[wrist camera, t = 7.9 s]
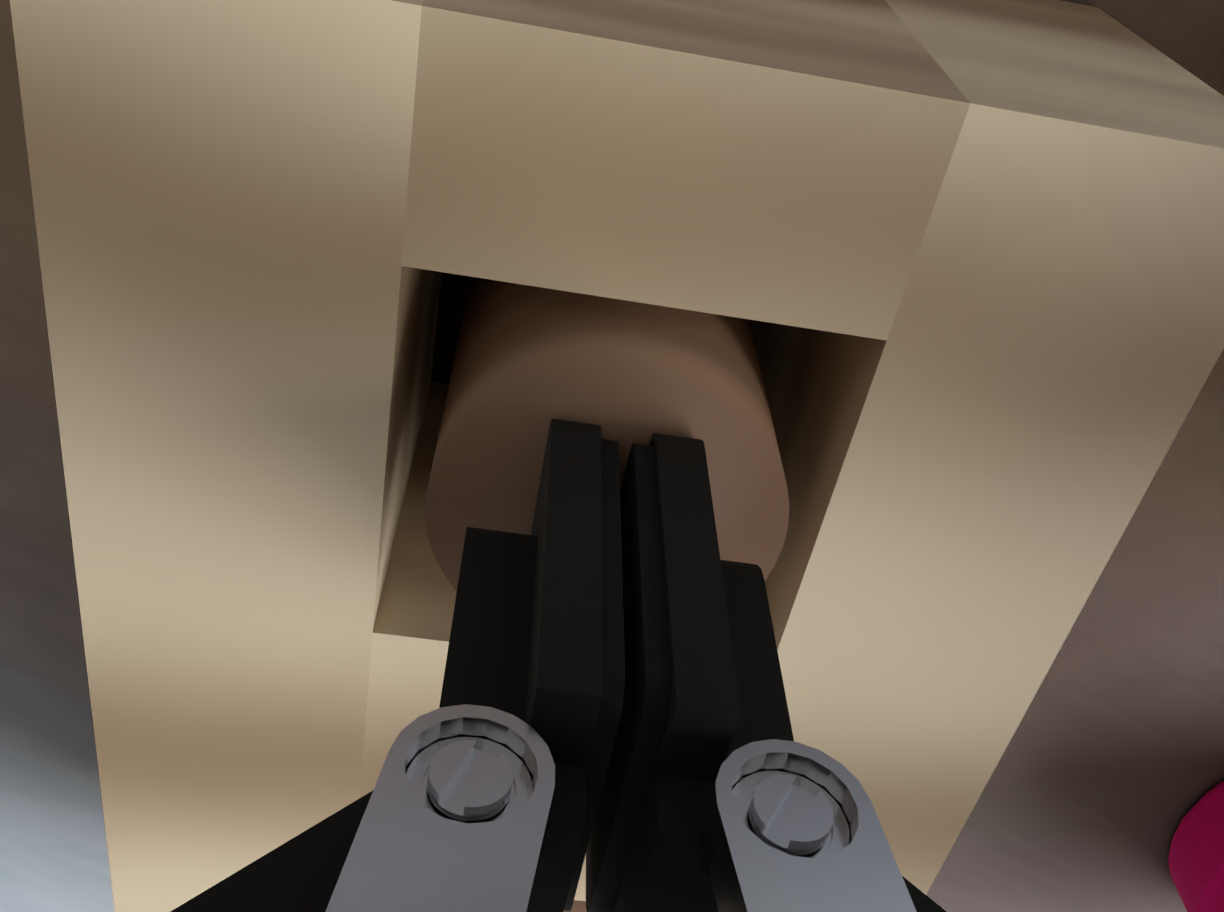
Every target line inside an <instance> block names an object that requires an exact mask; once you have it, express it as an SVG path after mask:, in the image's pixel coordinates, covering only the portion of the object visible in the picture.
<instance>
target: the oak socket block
mask: <svg viewBox="0 0 1224 912" xmlns="http://www.w3.org/2000/svg"><path fill="white" fill-rule="evenodd" d="M10 7H11V16H12V24H13V33H14V42H15V50H16V59H17V68H18V76H19V85H20V94H21V102H22V111H23V120H24V128H25V137H26V146H27V154H28V163H29V172H30V180H31V189H32V198H33V206H34V215H35V224H36V232H37V241H38V250H39V258H40V267H41V276H42V284H43V293H44V302H45V310H46V319H47V328H48V336H49V345H50V354H51V362H52V371H53V380H54V388H55V397H56V406H57V414H58V423H59V432H60V440H61V449H62V458H63V466H64V475H65V484H66V492H67V501H68V510H69V518H70V527H71V536H72V544H73V553H74V562H75V570H76V579H77V588H78V596H79V605H80V614H81V622H82V631H83V640H84V649H85V657H86V666H87V675H88V683H89V692H90V701H91V709H92V718H93V727H94V735H95V744H96V753H97V761H98V770H99V779H100V787H101V796H102V805H103V813H104V822H105V831H106V839H107V848H108V857H109V865H110V874H111V883H112V891H113V900H114V909H115V912H170V911H172V910H174V909H175V908H177V907H179V906H180V905H182V904H184V903H185V902H187V901H189V900H190V899H192V898H194V897H195V896H197V895H199V894H201V893H202V892H204V891H206V890H207V889H209V888H211V887H212V886H214V885H216V884H217V883H219V882H221V881H222V880H224V879H226V878H227V877H229V876H231V875H232V874H234V873H236V872H237V871H239V870H241V869H242V868H244V867H246V866H247V865H249V864H251V863H252V862H254V861H256V860H257V859H259V858H261V857H262V856H264V855H266V854H267V853H269V852H271V851H272V850H274V849H276V848H277V847H279V846H281V845H282V844H284V843H286V842H287V841H289V840H291V839H292V838H294V837H296V836H297V835H299V834H301V833H302V832H304V831H306V830H307V829H309V828H311V827H312V826H314V825H316V824H317V823H319V822H321V821H323V820H324V819H326V818H328V817H329V816H331V815H333V814H334V813H336V812H338V811H339V810H341V809H343V808H344V807H346V806H348V805H349V804H351V803H353V802H354V801H356V800H358V799H359V798H361V797H363V796H364V795H366V794H368V793H369V792H371V791H373V790H374V787H375V785H376V782H377V780H378V777H379V775H380V772H381V770H382V767H383V765H384V762H385V759H386V757H387V754H388V752H389V749H390V748H391V746H392V744H393V743H394V741H395V740H396V738H397V736H398V735H399V733H400V732H401V730H403V729H404V728H405V727H406V726H408V725H409V724H410V723H411V722H413V721H414V720H415V719H416V718H418V717H419V716H421V715H424V714H426V713H429V712H431V711H434V710H436V709H439V706H440V699H441V692H442V686H443V679H444V673H445V666H446V659H447V653H448V646H449V639H450V633H451V626H452V620H453V613H454V606H455V600H456V593H457V591H456V590H455V589H454V587H453V586H452V585H451V583H450V582H449V580H448V579H447V577H446V576H445V575H444V573H443V572H442V570H441V568H440V566H439V564H438V562H437V560H436V558H435V556H434V553H433V550H432V547H431V544H430V541H429V537H428V532H427V525H426V518H425V511H426V495H427V489H428V484H429V479H430V474H431V469H432V464H433V459H434V455H435V450H436V445H437V440H438V435H439V430H440V425H441V421H442V416H443V411H444V406H445V401H446V396H447V391H448V387H449V384H448V383H441V382H434V381H431V375H432V365H433V356H434V346H435V336H436V326H437V316H438V306H439V296H440V286H441V276H442V272H444V273H451V274H457V275H464V276H470V277H477V278H483V279H490V280H496V281H503V282H509V283H516V284H522V285H529V286H535V287H542V288H548V289H555V290H561V291H568V292H574V293H581V294H587V295H594V296H600V297H607V298H613V299H620V300H626V301H633V302H639V303H646V304H652V305H659V306H665V307H672V308H678V309H685V310H691V311H698V312H704V313H711V314H717V315H724V316H730V317H737V318H743V319H750V320H753V323H752V326H751V329H752V333H753V338H754V342H755V347H756V351H757V355H758V360H759V364H760V369H761V373H762V378H763V382H764V386H765V391H766V395H767V400H768V404H769V408H770V413H771V417H772V422H773V426H774V431H775V435H776V439H777V444H778V448H779V453H780V457H781V461H782V466H783V470H784V475H785V479H786V484H787V488H788V497H789V521H788V530H787V534H786V538H785V542H784V546H783V548H782V550H781V553H780V555H779V558H778V560H777V562H776V564H775V566H774V568H773V569H772V571H771V573H770V574H769V576H768V577H767V579H766V581H765V586H766V591H767V597H768V602H769V608H770V613H771V619H772V624H773V629H774V635H775V640H776V646H777V651H778V657H779V662H780V667H781V673H782V678H783V684H784V689H785V695H786V700H787V706H788V711H789V716H790V722H791V727H792V733H793V738H794V742H799V743H802V744H804V745H807V746H810V747H813V748H815V749H818V750H821V751H822V752H824V753H825V754H827V755H829V756H830V757H832V758H833V759H835V760H837V761H838V762H840V763H841V764H843V765H844V766H845V767H846V768H847V769H848V770H849V771H850V772H851V773H852V774H853V775H854V776H855V777H856V778H857V779H858V780H859V782H860V783H861V785H862V787H863V788H864V790H865V792H866V793H867V795H868V797H869V798H870V800H871V802H872V804H873V807H874V809H875V812H876V814H877V817H878V819H879V821H880V824H881V826H882V829H883V831H884V834H885V836H886V838H887V841H888V843H889V846H890V848H891V851H892V853H893V855H894V858H895V860H896V863H897V865H898V868H899V870H900V872H901V875H902V876H903V877H904V878H906V879H907V880H908V881H909V882H911V883H912V884H913V885H914V886H915V887H917V888H918V889H919V890H920V891H922V892H923V893H924V894H925V895H927V893H928V891H929V889H930V887H931V886H932V884H933V882H934V880H935V878H936V876H937V875H938V873H939V871H940V869H941V867H942V865H943V864H944V862H945V860H946V858H947V856H948V854H949V853H950V851H951V849H952V847H953V845H954V843H955V841H956V840H957V838H958V836H959V834H960V832H961V830H962V829H963V827H964V825H965V823H966V821H967V819H968V818H969V816H970V814H971V812H972V810H973V808H974V807H975V805H976V803H977V801H978V799H979V797H980V796H981V794H982V792H983V790H984V788H985V786H986V785H987V783H988V781H989V779H990V777H991V775H992V773H993V772H994V770H995V768H996V766H997V764H998V762H999V761H1000V759H1001V757H1002V755H1003V753H1004V751H1005V750H1006V748H1007V746H1008V744H1009V742H1010V740H1011V739H1012V737H1013V735H1014V733H1015V731H1016V729H1017V728H1018V726H1019V724H1020V722H1021V720H1022V718H1023V717H1024V715H1025V713H1026V711H1027V709H1028V707H1029V705H1030V704H1031V702H1032V700H1033V698H1034V696H1035V694H1036V693H1037V691H1038V689H1039V687H1040V685H1041V683H1042V682H1043V680H1044V678H1045V676H1046V674H1047V672H1048V671H1049V669H1050V667H1051V665H1052V663H1053V661H1054V660H1055V658H1056V656H1057V654H1058V652H1059V650H1060V649H1061V647H1062V645H1063V643H1064V641H1065V639H1066V637H1067V636H1068V634H1069V632H1070V630H1071V628H1072V626H1073V625H1074V623H1075V621H1076V619H1077V617H1078V615H1079V614H1080V612H1081V610H1082V608H1083V606H1084V604H1085V603H1086V601H1087V599H1088V597H1089V595H1090V593H1091V592H1092V590H1093V588H1094V586H1095V584H1096V582H1097V581H1098V579H1099V577H1100V575H1101V573H1102V571H1103V569H1104V568H1105V566H1106V564H1107V562H1108V560H1109V558H1110V557H1111V555H1112V553H1113V551H1114V549H1115V547H1116V546H1117V544H1118V542H1119V540H1120V538H1121V536H1122V535H1123V533H1124V531H1125V529H1126V527H1127V525H1128V524H1129V522H1130V520H1131V518H1132V516H1133V514H1134V513H1135V511H1136V509H1137V507H1138V505H1139V503H1140V501H1141V500H1142V498H1143V496H1144V494H1145V492H1146V490H1147V489H1148V487H1149V485H1150V483H1151V481H1152V479H1153V478H1154V476H1155V474H1156V472H1157V470H1158V468H1159V467H1160V465H1161V463H1162V461H1163V459H1164V457H1165V456H1166V454H1167V452H1168V450H1169V448H1170V446H1171V445H1172V443H1173V441H1174V439H1175V437H1176V435H1177V433H1178V432H1179V430H1180V428H1181V426H1182V424H1183V422H1184V421H1185V419H1186V417H1187V415H1188V413H1189V411H1190V410H1191V408H1192V406H1193V404H1194V402H1195V400H1196V399H1197V397H1198V395H1199V393H1200V391H1201V389H1202V388H1203V386H1204V384H1205V382H1206V380H1207V378H1208V377H1209V375H1210V373H1211V371H1212V369H1213V367H1214V366H1215V364H1216V362H1217V360H1218V358H1219V356H1220V354H1221V353H1222V351H1223V349H1224V96H1223V95H1221V94H1220V93H1219V92H1217V91H1216V90H1214V89H1213V88H1211V87H1210V86H1209V85H1207V84H1206V83H1204V82H1203V81H1202V80H1200V79H1199V78H1197V77H1196V76H1194V75H1193V74H1192V73H1190V72H1189V71H1187V70H1186V69H1185V68H1183V67H1182V66H1180V65H1179V64H1177V63H1176V62H1175V61H1173V60H1172V59H1170V58H1169V57H1167V56H1166V55H1165V54H1163V53H1162V52H1160V51H1159V50H1158V49H1156V48H1155V47H1153V46H1152V45H1150V44H1149V43H1148V42H1146V41H1145V40H1143V39H1142V38H1141V37H1139V36H1138V35H1136V34H1135V33H1133V32H1132V31H1131V30H1129V29H1128V28H1126V27H1125V26H1123V25H1122V24H1121V23H1119V22H1118V21H1116V20H1115V19H1114V18H1112V17H1111V16H1109V15H1108V14H1106V13H1105V12H1104V11H1102V10H1101V9H1099V8H1098V7H1093V6H1088V5H1083V4H1077V3H1072V2H1067V1H1062V0H10ZM574 900H578V901H586V855H585V859H584V863H583V867H582V871H581V874H580V878H579V882H578V886H577V890H576V894H575V898H574Z"/></svg>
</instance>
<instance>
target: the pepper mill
mask: <svg viewBox="0 0 1224 912" xmlns="http://www.w3.org/2000/svg"><path fill="white" fill-rule="evenodd" d="M1169 870H1170V875H1171V878H1172V880H1173V882H1174V884H1175V886H1176V888H1177V891H1178V893H1179V895H1180V897H1181V899H1182V901H1183V903H1184V906H1185V908H1186V910H1187V912H1224V781H1222V782H1221V783H1219V784H1218V785H1217V786H1215V787H1214V788H1213V789H1211V790H1210V791H1209V792H1207V793H1206V794H1205V795H1204V796H1203V797H1202V798H1201V799H1200V800H1199V801H1198V802H1197V803H1196V804H1195V805H1194V806H1193V807H1192V808H1191V809H1190V811H1189V812H1188V813H1187V814H1186V815H1185V816H1184V817H1183V818H1182V820H1181V822H1180V824H1179V826H1178V828H1177V830H1176V832H1175V834H1174V836H1173V838H1172V842H1171V847H1170V852H1169Z"/></svg>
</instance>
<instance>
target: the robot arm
mask: <svg viewBox="0 0 1224 912" xmlns="http://www.w3.org/2000/svg"><path fill="white" fill-rule="evenodd" d="M585 855H586V911H587V912H946V911H945V910H944V909H942V908H941V907H940V906H939V905H937V904H936V903H935V902H934V901H933V900H931V899H930V898H929V897H928V896H926V895H925V894H924V893H923V892H922V891H920V890H919V889H918V888H917V887H915V886H914V885H913V884H912V883H911V882H909V881H908V880H907V879H906V878H904V877H903V876H902V875H901V872H900V870H899V868H898V865H897V863H896V860H895V858H894V855H893V853H892V851H891V848H890V846H889V843H888V841H887V838H886V836H885V834H884V831H883V829H882V826H881V824H880V821H879V819H878V817H877V814H876V812H875V809H874V807H873V804H872V802H871V800H870V798H869V797H868V795H867V793H866V792H865V790H864V788H863V787H862V785H861V783H860V782H859V780H858V779H857V778H856V777H855V776H854V775H853V774H852V773H851V772H850V771H849V770H848V769H847V768H846V767H845V766H844V765H843V764H841V763H840V762H838V761H837V760H835V759H833V758H832V757H830V756H829V755H827V754H825V753H824V752H822V751H821V750H818V749H815V748H813V747H810V746H807V745H804V744H802V743H799V742H794V738H793V733H792V727H791V722H790V716H789V711H788V706H787V700H786V695H785V689H784V684H783V678H782V673H781V667H780V662H779V657H778V651H777V646H776V640H775V635H774V629H773V624H772V619H771V613H770V608H769V602H768V597H767V591H766V586H765V580H764V576H763V573H762V570H761V568H760V567H759V566H758V565H757V564H749V563H742V562H734V561H726V560H720V552H719V545H718V538H717V531H716V524H715V516H714V509H713V502H712V495H711V488H710V480H709V473H708V466H707V459H706V452H705V445H704V441H703V440H701V439H694V438H687V437H680V436H673V435H666V434H659V433H653V434H652V436H651V439H650V442H649V445H644V444H636V443H633V444H632V446H631V448H630V452H629V456H628V461H627V465H626V470H625V474H624V479H623V483H622V488H621V492H620V471H619V443H618V441H615V440H608V439H601V426H600V425H595V424H588V423H581V422H574V421H567V420H560V419H553V418H552V419H551V422H550V426H549V432H548V438H547V444H546V449H545V455H544V461H543V467H542V472H541V478H540V484H539V490H538V496H537V501H536V507H535V513H534V519H533V525H532V530H531V535H527V534H519V533H511V532H503V531H496V530H488V529H480V528H473V527H467V528H466V534H465V540H464V547H463V553H462V560H461V567H460V573H459V580H458V586H457V593H456V600H455V606H454V613H453V620H452V626H451V633H450V639H449V646H448V653H447V659H446V666H445V673H444V679H443V686H442V692H441V699H440V706H439V709H436V710H434V711H431V712H429V713H426V714H424V715H421V716H419V717H418V718H416V719H415V720H414V721H413V722H411V723H410V724H409V725H408V726H406V727H405V728H404V729H403V730H401V732H400V733H399V735H398V736H397V738H396V740H395V741H394V743H393V744H392V746H391V748H390V749H389V752H388V754H387V757H386V759H385V762H384V765H383V767H382V770H381V772H380V775H379V777H378V780H377V782H376V785H375V787H374V790H373V791H371V792H369V793H368V794H366V795H364V796H363V797H361V798H359V799H358V800H356V801H354V802H353V803H351V804H349V805H348V806H346V807H344V808H343V809H341V810H339V811H338V812H336V813H334V814H333V815H331V816H329V817H328V818H326V819H324V820H323V821H321V822H319V823H317V824H316V825H314V826H312V827H311V828H309V829H307V830H306V831H304V832H302V833H301V834H299V835H297V836H296V837H294V838H292V839H291V840H289V841H287V842H286V843H284V844H282V845H281V846H279V847H277V848H276V849H274V850H272V851H271V852H269V853H267V854H266V855H264V856H262V857H261V858H259V859H257V860H256V861H254V862H252V863H251V864H249V865H247V866H246V867H244V868H242V869H241V870H239V871H237V872H236V873H234V874H232V875H231V876H229V877H227V878H226V879H224V880H222V881H221V882H219V883H217V884H216V885H214V886H212V887H211V888H209V889H207V890H206V891H204V892H202V893H201V894H199V895H197V896H195V897H194V898H192V899H190V900H189V901H187V902H185V903H184V904H182V905H180V906H179V907H177V908H175V909H174V910H172V911H170V912H563V911H570V910H571V909H572V906H573V902H574V898H575V894H576V890H577V886H578V882H579V878H580V874H581V871H582V867H583V863H584V859H585Z"/></svg>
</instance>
